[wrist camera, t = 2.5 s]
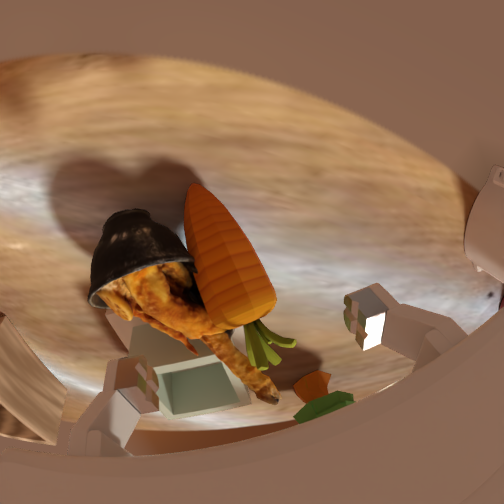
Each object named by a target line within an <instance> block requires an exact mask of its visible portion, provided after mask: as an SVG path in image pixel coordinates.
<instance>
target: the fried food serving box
mask: <svg viewBox="0 0 504 504" xmlns="http://www.w3.org/2000/svg"><path fill="white" fill-rule="evenodd" d="M66 393H67V389H66V388H65V387H64V386H63V385H62V384H61V383H60V382H59V381H58V380H57V379H56V378H55V376H54V375H53V374H52V373H51V372H50V371H49V370H48V369H47V368H46V367H45V365H44V364H43V363H42V362H41V361H40V360H39V358H38V357H37V356H36V355H35V354H34V352H33V351H32V350H31V349H30V347H29V346H28V345H27V344H26V342H25V341H24V340H23V338H22V337H21V336H20V334H19V333H18V332H17V330H16V329H15V328H14V326H13V325H12V323H11V322H10V321H9V319H8V318H7V316H3V317H0V436H4V437H9V438H13V439H18V440H24V441H29V442H35V443H42V444H50V445H56V442H57V437H58V431H59V426H60V421H61V416H62V411H63V406H64V402H65V398H66Z"/></svg>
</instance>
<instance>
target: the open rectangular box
mask: <svg viewBox="0 0 504 504" xmlns="http://www.w3.org/2000/svg"><path fill="white" fill-rule="evenodd" d="M105 316H106V318H107V319H108V321H109V323H110V324H111V326H112V327H113V329H114V330H115V332H116V333H117V335H118V336H119V338H120V339H121V341H122V342H123V344H124V345H125V347H126V348H127V350H128V351H129V354H128V357H130V356H136V355H144V356H145V357H146V359H147V360H148V361H147V365H149V366H151V367H153V369H154V370H155V372H156V374H157V377H158V381H159V389H158V391H157V392H156V394H157V396H158V397H159V411H160V412H161V413H162V414H163V415H164V416H165V417H166V418H167V419H168V420H173V419H180V418H186V417H192V416H198V415H204V414H209V413H214V412H219V411H224V410H228V409H233V408H237V407H241V406H245V405H249V404H252V403H251V399H250V395H249V391H248V387H247V385H245V384H243V383H242V382H241V380H240V378H238V377H236V376H235V375H234V374H233V373H232V372H231V370H230V369H229V368H228V367H227V366H226V365H225V364H224V362H222V361H220V360H219V359H218V358H217V357H216V355H215V354H214V353H213V352H212V351H211V350H210V349H209V347H207V345H206V344H204V343H203V342H202V341H201V340H199V339H189V338H187V339H188V341H189V342H190V344H191V345H193V346H194V348H195V349H196V351H197V353H198V356H197V355H195V354H194V353H193V352H191V351H190V350H188V349H187V348H186V346H185V345H184V344H183V343H182V342H181V341H180V340H176V339H174V338H173V337H170V336H169V335H168V334H166V333H164V332H161V331H160V330H158V329H156V328H153V327H151V325H150V324H149V323H147V322H143V321H142V320H141V318H139V317H135V316H133V318H132V320H131V321H127V320H124V319H122V318H121V317H120V316H118V315H117V314H115V313H114V312H113V311H112V309H107V310H106V313H105ZM231 341H232V343H233V345H234V346H235V347H236V348H237V349H238V350H239V351H240V352H241V353H243V354H244V355H245V356H247V357H248V355H247V351H246V344H245V334H244V328H243V326H241V327H238V328H235V330H234V333H233V335H232V337H231Z"/></svg>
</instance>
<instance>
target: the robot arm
mask: <svg viewBox="0 0 504 504" xmlns="http://www.w3.org/2000/svg"><path fill="white" fill-rule="evenodd" d="M464 248H465V254H466V256H467V258H468V259H469V260H471V261H472V262H473V266H474V269H475V270H476V271H478V272H480V271H482V270H484V271H486V272H487V273H489V274H490V275H492V276H493V277H495V278H496V279H498V280H499V281H501V282H502V283H504V168H503V167H501V166H497V165H494V166H493V167H492V169H491V171H490V174H489V177H488V180H487V182H486V184H485V186H484V187H483V188H482V190H481V191H480V193H479V195H478V196H477V198H476V200H475V202H474V205H473V207H472V210H471V212H470V215H469V219H468V222H467V226H466V231H465V239H464ZM344 304H345V305H346V309H345V310H344V320H345V324H346V326H347V328H348V330H349V331H350V332H351V333H353V334H356V339H355V340H356V341H357V343H358V344H359V345H360V347H361V348H362V350H363V351H364V350H366V349H368V348H371V347H373V346H375V345H378V344H380V343H381V344H382V345H384V346H386V347H388V348H390V349H392V350H394V351H396V352H398V353H400V354H402V355H404V356H406V357H408V358H410V359H412V360H414V361H416V363H415V365H414V368H413V370H412V373H411V374H409V375H408V376H406V377H404V378H402V379H401V380H399V381H397V382H395V383H393V384H391V385H389V386H388V387H386V388H384V389H382V390H380V391H378V392H376V393H374V394H372V395H370V396H368V397H365V398H363V399H361V400H359V401H357V402H355V403H352V404H350V405H348V406H346V407H343V408H341V409H338V410H336V411H334V412H331V413H329V414H326V415H323V416H321V417H318V418H316V419H313V420H310V421H307V422H304V423H302V424H299V425H296V426H293V427H290V428H286V429H283V430H280V431H277V432H274V433H270V434H267V435H263V436H259V437H256V438H252V439H248V440H243V441H239V442H235V443H231V444H226V445H221V446H216V447H211V448H205V449H199V450H192V451H186V452H178V453H169V454H160V455H147V456H133V455H132V454H131V453H129V452H128V451H126V450H125V449H124V447H125V445H126V443H127V441H128V439H129V437H130V435H131V434H132V432H133V430H134V428H135V426H136V424H137V422H138V420H139V418H140V416H141V414H144V413H150V412H156V411H159V397H158V396H157V394H156V392H157V391H158V389H159V381H158V377H157V374H156V372H155V370H154V369H153V367H151V366H149V365H147V361H148V360H147V359H146V357H145V356H144V355H136V356H130V357H124V358H120V359H114V360H110V361H109V362H108V364H107V369H106V375H105V380H104V387H103V392H100V393H99V394H98V395H97V396H96V398H95V399H94V400H93V401H92V403H91V404H90V405H89V407H88V408H87V409H86V410H85V412H84V413H83V414H82V416H81V417H80V418H79V419H78V421H77V422H76V423H75V425H74V426H73V427H72V429H71V431H70V438H69V445H68V453H67V455H61V454H52V453H45V452H38V451H31V450H26V449H21V448H16V447H8V448H6V449H5V450H4V451H3V452H2V453H1V454H0V504H504V307H503V308H501V309H500V310H499V311H498V312H497V313H496V314H495V315H493V316H492V317H491V318H490V319H489V320H487V321H486V322H485V323H484V324H483V325H481V326H480V327H479V328H478V329H476V330H475V331H474V332H472V333H471V334H470V335H467V334H466V333H465V332H464V331H463V330H462V329H461V328H460V327H459V326H458V325H457V324H456V323H455V322H454V321H453V320H452V319H451V318H450V317H446V316H443V315H440V314H436V313H433V312H430V311H426V310H423V309H420V308H416V307H413V306H410V305H406V304H401V305H400V304H399V303H398V302H397V301H396V300H395V299H394V298H393V297H392V296H391V295H390V294H389V293H388V292H387V291H386V290H385V289H384V288H383V287H382V286H381V285H380V284H379V283H375V284H372V285H370V286H368V287H365V288H363V289H360V290H358V291H355V292H352V293H350V294H347V295H345V297H344Z"/></svg>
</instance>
